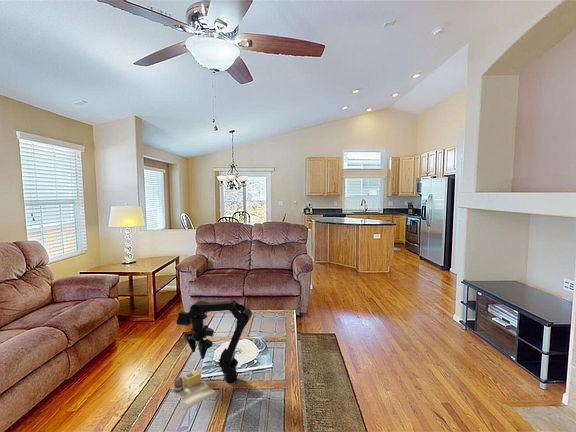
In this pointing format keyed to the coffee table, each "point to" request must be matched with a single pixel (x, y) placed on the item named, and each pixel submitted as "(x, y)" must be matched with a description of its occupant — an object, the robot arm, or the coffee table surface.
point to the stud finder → (191, 378)
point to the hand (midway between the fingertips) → (198, 355)
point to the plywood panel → (195, 393)
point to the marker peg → (178, 384)
